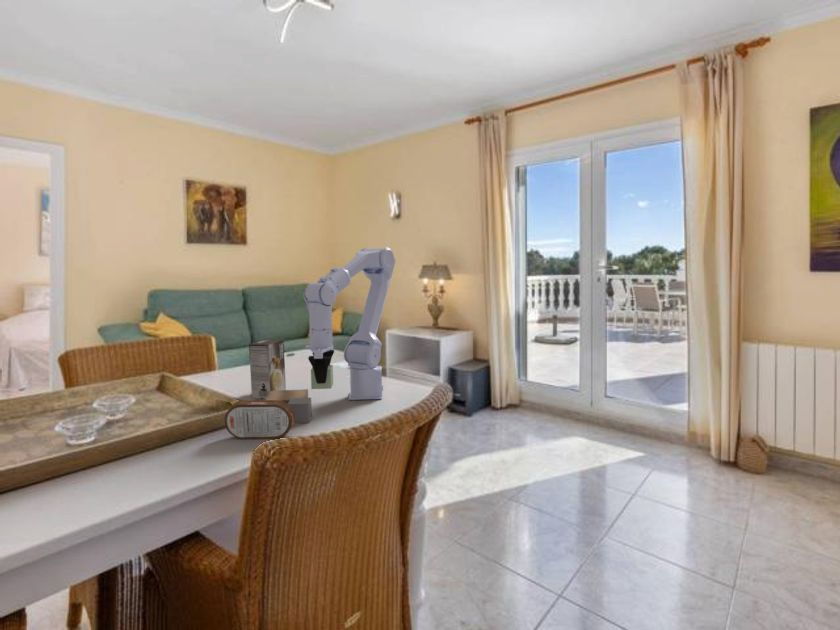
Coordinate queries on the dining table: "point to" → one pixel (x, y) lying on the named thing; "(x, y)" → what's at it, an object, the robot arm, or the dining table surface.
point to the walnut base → (287, 395)
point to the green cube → (329, 379)
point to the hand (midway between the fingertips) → (322, 380)
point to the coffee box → (267, 367)
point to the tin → (259, 419)
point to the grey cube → (301, 409)
